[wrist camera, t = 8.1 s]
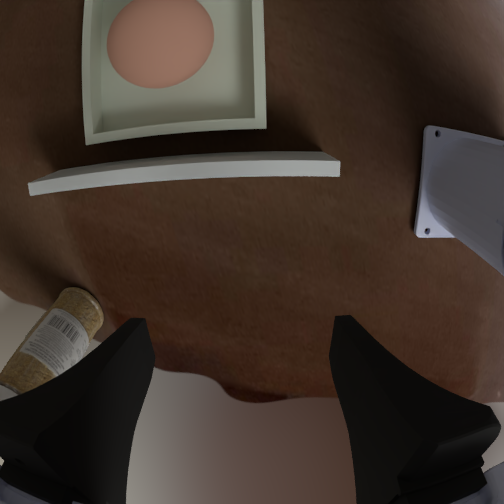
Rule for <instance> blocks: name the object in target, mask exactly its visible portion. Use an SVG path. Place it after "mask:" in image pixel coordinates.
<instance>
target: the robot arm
mask: <svg viewBox="0 0 504 504" xmlns="http://www.w3.org/2000/svg"><path fill="white" fill-rule="evenodd" d="M436 130H437V131H438V136H437V137H436V136H435V131H436ZM503 145H504V141H502V140H498V139H494V138H490V137H486V136H482V135H477V134H473V133H468V132H463V131H458V130H453V129H448V128H443V127H437V126H431V125H428V126H426V127H425V129H424V136H423V153H422V166H421V177H420V187H419V196H418V204H417V212H416V219H415V226H414V233H415V235H416V236H418V237H420V238H432V237H456V238H457V239H459V240H460V241H461V242H463V243H464V244H465V245H467V246H468V247H469V248H470V249H472V250H473V251H474V252H475V253H477V254H478V255H479V256H480V257H482V258H483V259H484V260H485V261H487V262H488V263H489V264H490V265H491V266H493V267H494V268H495V269H496V270H497V271H499V272H500V273H501V274H502V275H503V276H504V147H503ZM426 228H428V230H427V232H425V233H424V231H425V229H426ZM329 360H330V366H331V372H332V377H333V381H334V384H335V388H336V391H337V394H338V398H339V401H340V404H341V407H342V410H343V414H344V417H345V421H346V424H347V428H348V432H349V438H350V445H351V451H352V458H353V466H354V475H355V486H356V501H357V504H504V462H502V463H500V464H498V465H496V466H494V467H492V468H490V469H489V470H487V471H486V472H484V473H483V472H482V469H481V467H482V466H483V465H484V461H483V458H482V454H483V453H484V452H485V451H486V450H487V449H488V448H489V447H490V445H491V444H492V443H493V442H494V440H495V439H496V438H497V437H498V435H499V432H500V430H501V425H500V423H499V421H498V419H497V418H496V416H495V414H494V412H493V411H492V409H491V407H490V406H487V405H484V404H481V403H478V402H475V401H471V400H468V399H466V398H463V397H461V396H459V395H456V394H454V393H452V392H450V391H447V390H445V389H443V388H441V387H440V386H438V385H436V384H434V383H432V382H431V381H429V380H427V379H425V378H424V377H422V376H421V375H419V374H418V373H416V372H415V371H413V370H412V369H410V368H409V367H407V366H406V365H405V364H403V363H402V362H401V361H400V360H398V359H397V358H396V357H395V356H393V355H392V354H391V353H390V352H389V351H388V350H386V349H385V348H384V347H383V346H382V345H381V344H380V343H379V342H378V341H377V340H376V339H374V338H373V337H372V336H371V335H370V334H369V333H368V332H367V331H366V330H365V329H364V328H363V327H362V326H361V325H360V324H359V323H358V322H357V321H356V320H355V319H354V318H353V317H352V316H351V315H343V316H335V321H334V328H333V334H332V340H331V346H330V352H329ZM154 363H155V354H154V350H153V347H152V343H151V339H150V336H149V332H148V328H147V324H146V320H145V318H130V319H129V320H128V321H126V322H125V323H124V324H123V325H122V326H121V327H119V328H118V329H117V330H116V331H115V332H114V333H113V334H112V335H110V336H109V337H108V338H107V339H106V340H105V341H104V342H102V343H101V344H100V345H99V346H98V347H97V348H95V349H94V350H93V351H92V352H90V353H89V354H88V355H87V356H86V357H84V358H83V359H82V360H80V361H79V362H78V363H76V364H75V365H74V366H72V367H71V368H69V369H68V370H66V371H65V372H63V373H62V374H60V375H58V376H57V377H55V378H53V379H51V380H49V381H47V382H46V383H44V384H42V385H40V386H38V387H36V388H34V389H32V390H29V391H27V392H25V393H22V394H20V395H17V396H14V397H11V398H8V399H5V400H2V401H0V457H1V458H2V459H3V460H4V463H3V465H2V466H1V465H0V504H126V487H127V476H128V467H129V460H130V453H131V447H132V441H133V435H134V431H135V427H136V423H137V420H138V417H139V414H140V411H141V408H142V405H143V402H144V399H145V397H146V394H147V391H148V388H149V385H150V381H151V378H152V373H153V368H154Z"/></svg>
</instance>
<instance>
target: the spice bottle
mask: <svg viewBox="0 0 504 504" xmlns="http://www.w3.org/2000/svg"><path fill="white" fill-rule="evenodd" d="M103 320H104V318H103V312H102V309H101V307H100V305H99V303H98V301H97V300H96V299H95V298H94V297H93V296H92V295H90V294H89V293H88V292H86V291H85V290H83V289H80V288H76V287H71V288H66V289H64V290H63V291H62V292H61V293H60V295H59V297H58V299H57V300H56V301H55V302H54V304H53V305H52V306H51V307H50V308H49V309H48V311H47V312H46V313H44V314H43V315H42V316H41V318H40V319H39V320H38V321H37V323H36V324H35V325H34V326H33V328H32V329H31V330H30V331H29V333H28V334H27V335H26V337H25V340H24V341H23V342H22V343H21V345H20V346H19V347H18V349H17V350H16V352H15V353H14V354H13V356H12V357H11V358H10V360H9V361H8V362H7V365H6V366H5V367H4V368H3V370H2V372H1V373H0V401H2V400H5V399H8V398H11V397H14V396H17V395H20V394H22V393H25V392H27V391H29V390H32V389H34V388H36V387H38V386H40V385H42V384H44V383H46V382H47V381H49V380H51V379H53V378H55V377H57V376H58V375H60V374H62V373H63V372H65V371H66V370H68V369H69V368H71V367H72V366H74V365H75V364H76V363H78V362H79V361H80V360H81V359H82V357H83V355H84V353H85V351H86V350H87V348H88V345H89V343H90V341H91V340H92V338H93V336H94V334H95V333H96V331H97V330H98V329H99V328H100V327H101V326H102V323H103Z"/></svg>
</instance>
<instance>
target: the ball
mask: <svg viewBox="0 0 504 504" xmlns="http://www.w3.org/2000/svg"><path fill="white" fill-rule="evenodd" d="M213 42H214V27H213V23H212V20H211V18H210V15H209V14H208V12H207V11H206V9H205V8H204V7H203V6H202V5H201V4H200V3H199V2H198V1H197V0H133V1H131V2H130V3H129V4H127V5H126V6H125V7H124V8H123V9H122V10H121V11H120V12H119V13H118V14H117V16H116V17H115V19H114V20H113V22H112V24H111V26H110V29H109V32H108V37H107V53H108V57H109V60H110V62H111V64H112V66H113V68H114V69H115V70H116V72H117V73H118V74H119V75H120V76H121V77H122V78H124V79H125V80H126V81H128V82H130V83H132V84H134V85H137V86H140V87H144V88H166V87H170V86H174V85H176V84H179V83H181V82H183V81H185V80H187V79H188V78H190V77H191V76H193V75H194V74H195V73H196V72H197V71H198V70H199V69H200V68H201V67H202V66H203V65H204V63H205V62H206V60H207V59H208V57H209V55H210V53H211V50H212V47H213Z"/></svg>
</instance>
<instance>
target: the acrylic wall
mask: <svg viewBox="0 0 504 504" xmlns="http://www.w3.org/2000/svg"><path fill="white" fill-rule="evenodd" d="M252 176H335V177H340V161H339V160H337V159H335V158H334V157H332V156H330V155H328V154H326V153H324V152H304V151H264V152H227V153H207V154H191V155H177V156H165V157H154V158H144V159H134V160H126V161H117V162H109V163H102V164H95V165H88V166H81V167H75V168H69V169H63V170H59V171H56V172H54V173H51V174H49V175H46V176H44V177H42V178H39V179H37V180H35V181H32V182H30V183H28V187H29V192H30V196H32V195H39V194H45V193H52V192H59V191H67V190H74V189H82V188H91V187H100V186H109V185H119V184H129V183H141V182H153V181H166V180H181V179H199V178H220V177H252Z"/></svg>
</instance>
